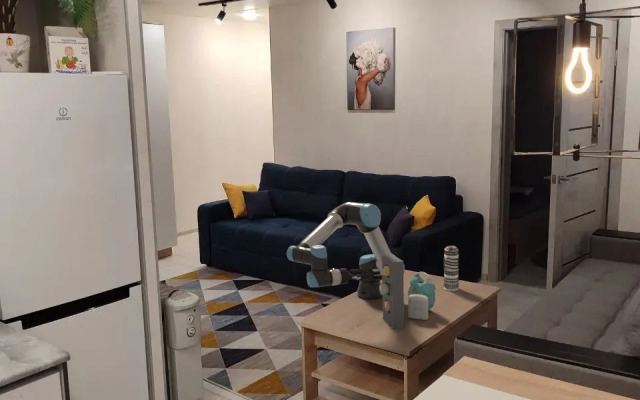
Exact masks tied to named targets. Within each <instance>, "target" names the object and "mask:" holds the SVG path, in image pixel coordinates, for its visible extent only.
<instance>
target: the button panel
mask: <svg viewBox="0 0 640 400" xmlns="http://www.w3.org/2000/svg"><path fill="white" fill-rule="evenodd" d="M394 255H395V254H393V255H383V256H382V269H383V268H384V267H385V266H389V267H390V276H385V275H382V280H381V284H387V283H388V284H390V294H382V295H383V296H382V319H383V321H385V323H386V324H388V326H390V327H391V328H393V329H400V328H405V307H404V306H405V304H404V303H405V300H404V299H405V296H404V295H405V294H404V284H405V283H404V275H403V263H404V260H401V258H398V257H397V256H396V255H395V256H394ZM385 301H389V302H390V311H386V310H385Z"/></svg>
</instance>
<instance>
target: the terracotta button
mask: <svg viewBox="0 0 640 400" xmlns="http://www.w3.org/2000/svg"><path fill="white" fill-rule="evenodd" d="M385 310H386V311H390V302H389V301H385Z"/></svg>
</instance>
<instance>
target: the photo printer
mask: <svg viewBox="0 0 640 400" xmlns="http://www.w3.org/2000/svg"><path fill="white" fill-rule="evenodd" d="M407 318H409V319H414V320H416V319H417V320H423V321H424V320H426V321H427V320H429V309H428V297H426V296H424V295H419V294H413V295H409V298H408V297H407Z"/></svg>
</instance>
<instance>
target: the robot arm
mask: <svg viewBox="0 0 640 400" xmlns="http://www.w3.org/2000/svg"><path fill="white" fill-rule="evenodd" d="M381 216H382V212H381V209H379V207H378V206H377V205H375V204H373V203H372V204H371V203H370V202H369V203H365V202H354V201H348V202H344V203H341V204H339V205H338V206H337V207H335V208H334V209H333V210H331V211H330V212H329V213H328V214H327V217H326V218H325V219H324V220H323V221H322V222H321V223H320V224H319V225H318V226H317V227H315V228H314V229H313V230H312V231H311V233H309V234H308V235H307V236H306V237H305V238H304V239H302V241H301V242H300V243H299V244H297V245H290V246H289V247H288V248H287V251H286V257H287V259H288V260H289V261H291V262H294V263H300V264H305V265H310V266H311V271H308V272H307V273H306V282H307V286H308V287H309V288H320V287H328V286H329V287H330V286H337V285H347V284H349V282H350V280H352V281H355V280H356V281H357V282H359V284H358V287H357V290H356V292H357V293H356V294H357V296H358V297H359V298H361V299H365V300H366V299H367V300H373V299H379V298H383V295H382V294H381V293H380V289H379V286H380V284H382V275H386V269H385V268H383V269H382V256H383V255H394V256H395V257H396V255H395V254H393V253H392V252H391V250H390V248H389V246H388V244H387V242H386V239H385V236H384V235H383V233H382V230H381V228H380V227H379V226H380V224H381V220H382V217H381ZM345 225H352V226H356V227H357V228H358V229H357V230H358V231H359V232H360V233H361V234H364V235H363V236H364V237H365V240H366V241H367V243H368V246H369V247H370V249H371V251H372V254H365V255H362V256H360V258H359V264H358V265H359V268H355V269H354V268H349V270H348V269H347V267H343V268H342V267H341V268H339V269H338V268H334V267H332V269H328V253H327V247H326V246H325V245H322V244H323V243H324V242H325V241H326V240H327V239H328V238H329V237H330V236H331V235H332V234H333V233H334V232H336V230H338V229H341V228H343V226H345ZM405 268H406V267H405V264H404V262H403V276H404V275H405Z"/></svg>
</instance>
